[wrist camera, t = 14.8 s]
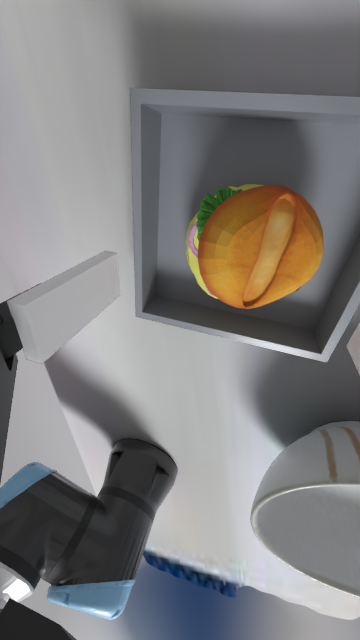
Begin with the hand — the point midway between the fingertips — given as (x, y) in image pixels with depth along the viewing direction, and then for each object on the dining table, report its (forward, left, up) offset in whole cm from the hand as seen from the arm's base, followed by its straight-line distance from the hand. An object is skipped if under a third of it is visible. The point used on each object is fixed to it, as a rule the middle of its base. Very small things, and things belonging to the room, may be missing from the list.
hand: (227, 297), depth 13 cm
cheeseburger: (0, 0, -13) cm, 13 cm away
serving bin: (0, 0, -14) cm, 14 cm away
